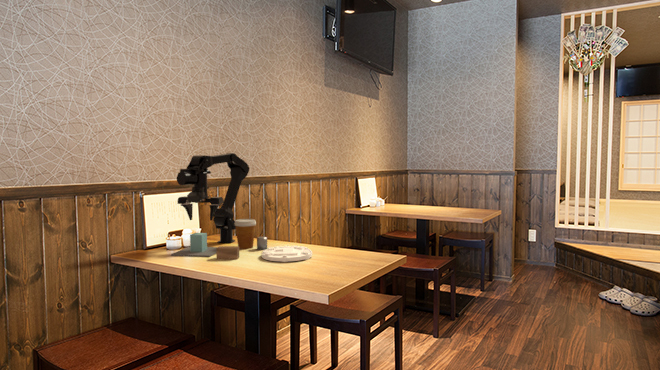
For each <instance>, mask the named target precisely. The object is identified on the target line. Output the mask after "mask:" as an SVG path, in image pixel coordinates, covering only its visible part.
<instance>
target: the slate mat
mask: <svg viewBox="0 0 660 370" xmlns="http://www.w3.org/2000/svg"><path fill="white" fill-rule="evenodd" d="M217 247H218V246H217ZM217 247H216V246H207V250H205V251H203V252H190V246H189V245H188V246H187V247H185V248H182V249H180V250H177V251H176V252H173V253H171V254H170V257H171V256H172V257H197V258H199V257H200V258H211V257H212V256H214V255H217V251H216V248H217Z"/></svg>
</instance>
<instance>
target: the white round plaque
mask: <svg viewBox="0 0 660 370" xmlns="http://www.w3.org/2000/svg"><path fill="white" fill-rule="evenodd" d="M312 256H313V251H312V250H311V248H309V247H306V246H302V245H300V246H299V245H291V246H290V245H283V246H282V245H277V246H276V245H275V246H273V247H272V246H269V247H267V249H266V250H261V258H262V259H264V260H266V261H271V262H283V263H288V262H296V261H297V262H299V261H306V260H310V258H311V257H312Z"/></svg>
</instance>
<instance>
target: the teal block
mask: <svg viewBox="0 0 660 370" xmlns="http://www.w3.org/2000/svg"><path fill="white" fill-rule="evenodd" d="M189 235H190V236H189V242H190V243H189V245H190V252H203V251H205V250H207V247H208V233H207V232H194V233H192V234H189Z"/></svg>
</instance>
